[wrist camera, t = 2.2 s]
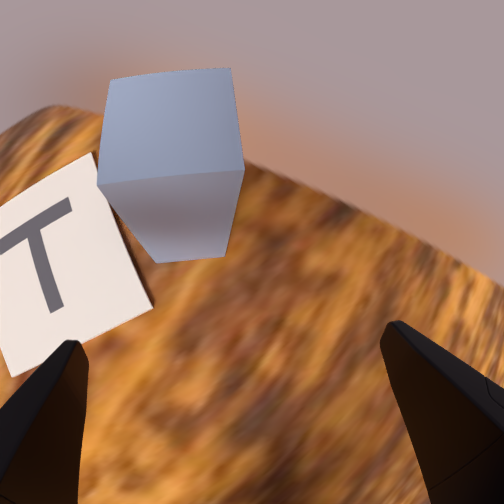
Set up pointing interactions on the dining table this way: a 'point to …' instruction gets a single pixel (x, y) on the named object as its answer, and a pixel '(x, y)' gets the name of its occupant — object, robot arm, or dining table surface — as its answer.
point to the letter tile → (62, 267)
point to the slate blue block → (173, 161)
